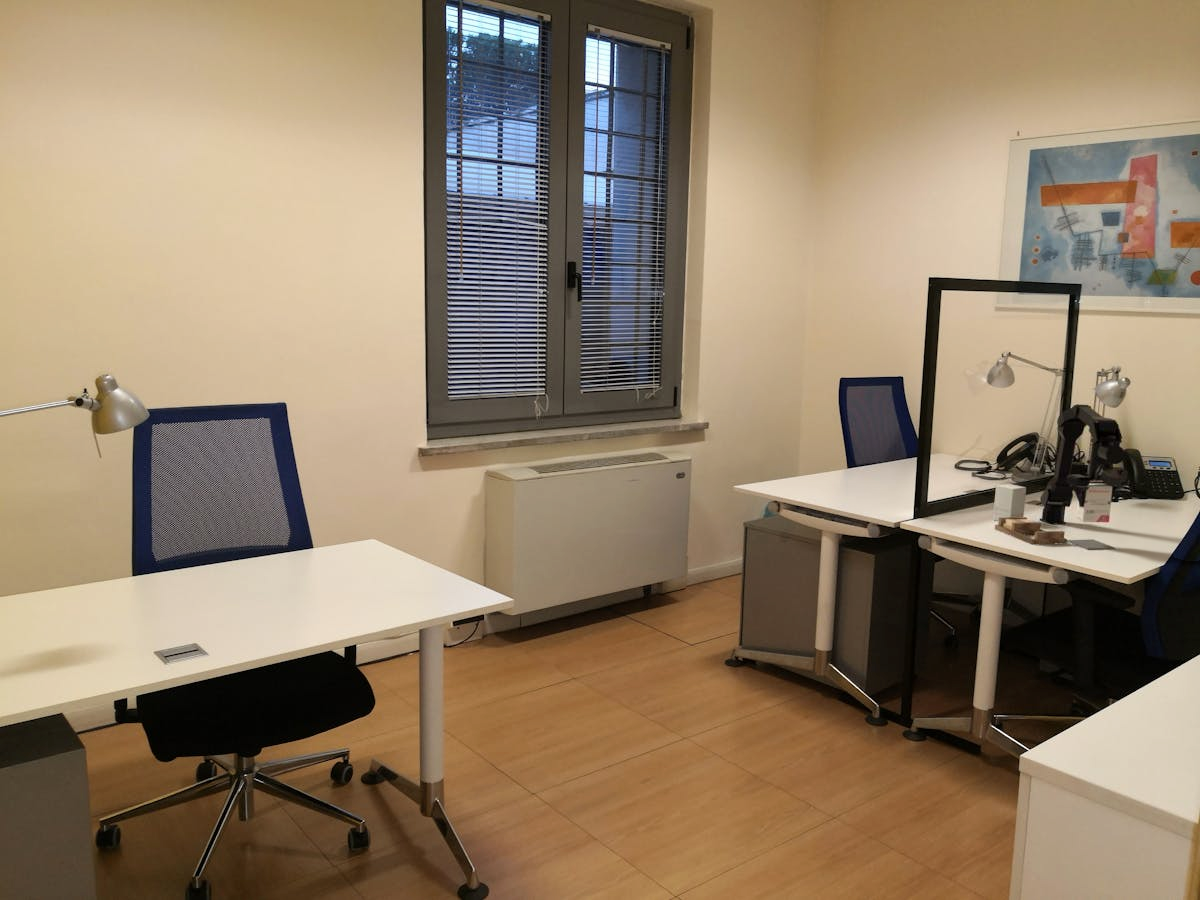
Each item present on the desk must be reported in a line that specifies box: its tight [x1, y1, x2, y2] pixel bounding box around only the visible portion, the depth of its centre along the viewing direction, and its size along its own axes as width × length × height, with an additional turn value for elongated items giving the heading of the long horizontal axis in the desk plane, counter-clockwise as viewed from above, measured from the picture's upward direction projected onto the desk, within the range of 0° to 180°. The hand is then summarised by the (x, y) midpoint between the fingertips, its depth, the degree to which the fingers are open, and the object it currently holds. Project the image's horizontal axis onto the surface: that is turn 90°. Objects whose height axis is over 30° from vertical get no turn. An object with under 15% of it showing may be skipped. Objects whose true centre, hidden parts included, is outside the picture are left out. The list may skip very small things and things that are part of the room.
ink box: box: [1075, 483, 1112, 523], centre depth 313 cm, size 9×5×12 cm, turn 91°
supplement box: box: [992, 483, 1027, 522], centre depth 344 cm, size 7×7×13 cm
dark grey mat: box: [1067, 538, 1116, 551], centre depth 314 cm, size 10×10×1 cm
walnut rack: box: [994, 516, 1068, 545], centre depth 323 cm, size 12×20×4 cm, turn 12°
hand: (1094, 506), depth 312 cm, fingers closed on ink box, 9 cm apart
